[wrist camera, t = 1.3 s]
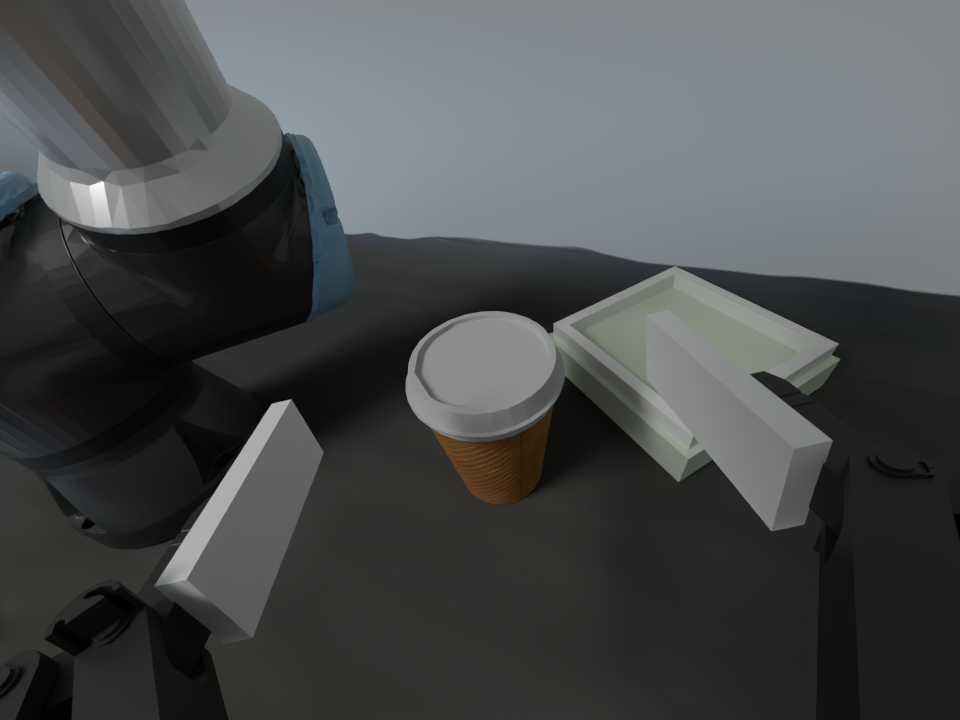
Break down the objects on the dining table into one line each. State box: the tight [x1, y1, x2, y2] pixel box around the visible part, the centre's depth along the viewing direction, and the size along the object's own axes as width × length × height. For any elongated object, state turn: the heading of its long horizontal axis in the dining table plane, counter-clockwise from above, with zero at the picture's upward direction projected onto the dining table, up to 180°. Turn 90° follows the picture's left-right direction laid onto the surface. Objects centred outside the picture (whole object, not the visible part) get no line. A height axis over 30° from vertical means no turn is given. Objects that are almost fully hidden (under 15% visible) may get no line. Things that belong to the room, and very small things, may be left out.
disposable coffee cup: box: [406, 311, 565, 504], centre depth 26 cm, size 10×10×12 cm
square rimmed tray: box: [549, 266, 840, 482], centre depth 33 cm, size 16×16×4 cm
